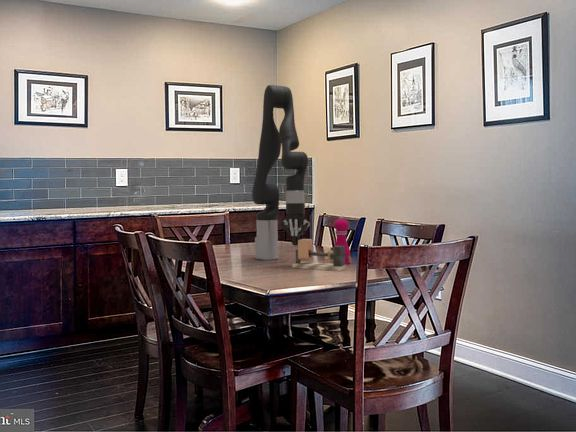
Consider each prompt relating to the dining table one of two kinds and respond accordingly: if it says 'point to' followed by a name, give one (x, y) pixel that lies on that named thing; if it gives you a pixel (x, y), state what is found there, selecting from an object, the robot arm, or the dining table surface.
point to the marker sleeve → (304, 249)
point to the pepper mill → (342, 235)
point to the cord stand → (337, 265)
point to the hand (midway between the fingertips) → (295, 245)
